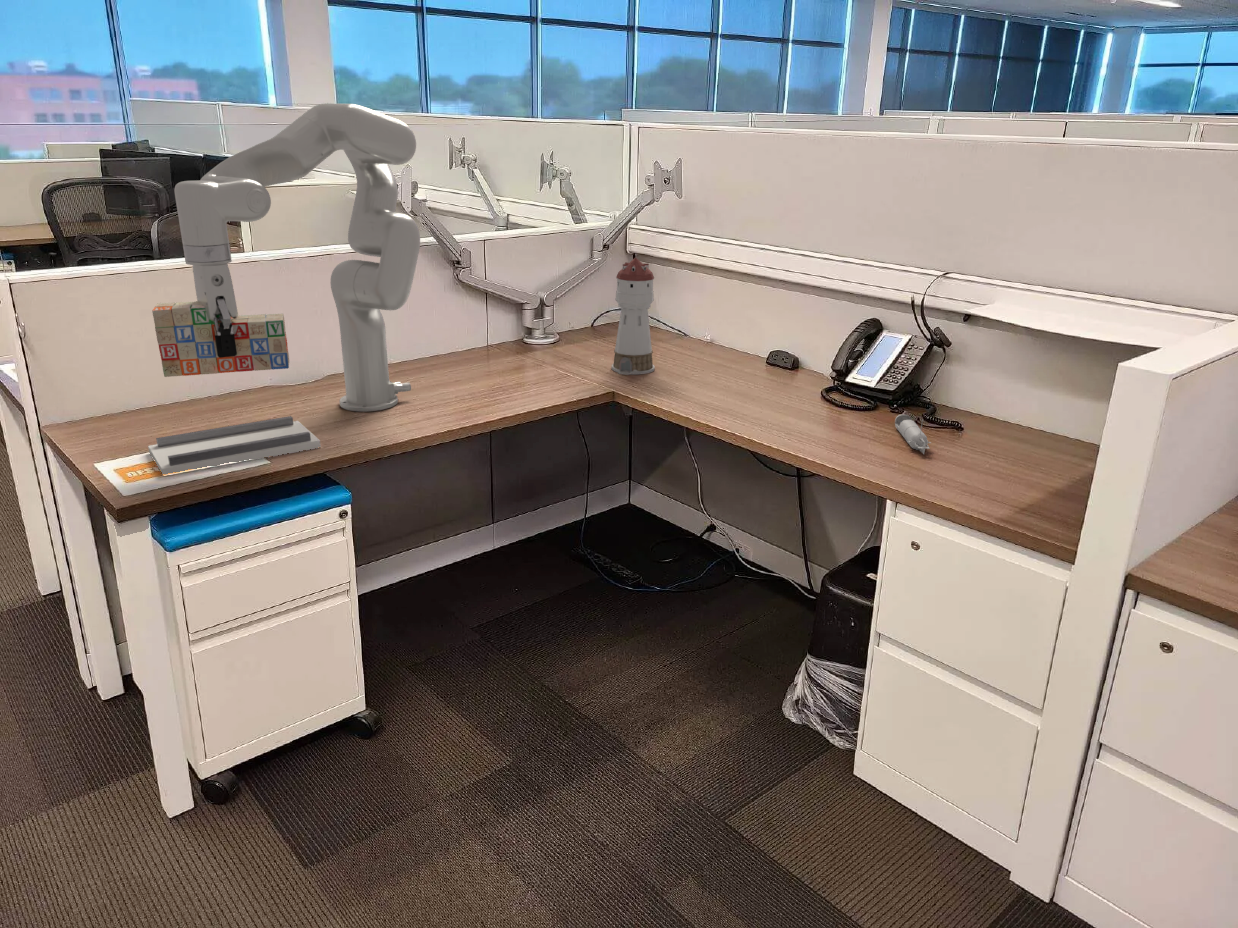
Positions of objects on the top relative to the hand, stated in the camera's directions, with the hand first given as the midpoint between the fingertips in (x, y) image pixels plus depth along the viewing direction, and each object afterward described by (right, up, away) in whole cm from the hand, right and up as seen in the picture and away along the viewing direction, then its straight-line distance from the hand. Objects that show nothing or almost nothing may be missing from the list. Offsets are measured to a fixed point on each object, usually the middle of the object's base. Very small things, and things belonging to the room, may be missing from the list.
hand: (222, 351), depth 165 cm
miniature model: (+77, +4, +67) cm, 102 cm away
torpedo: (+133, -16, +20) cm, 136 cm away
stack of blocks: (+1, -3, +2) cm, 4 cm away
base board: (0, -18, +7) cm, 20 cm away
